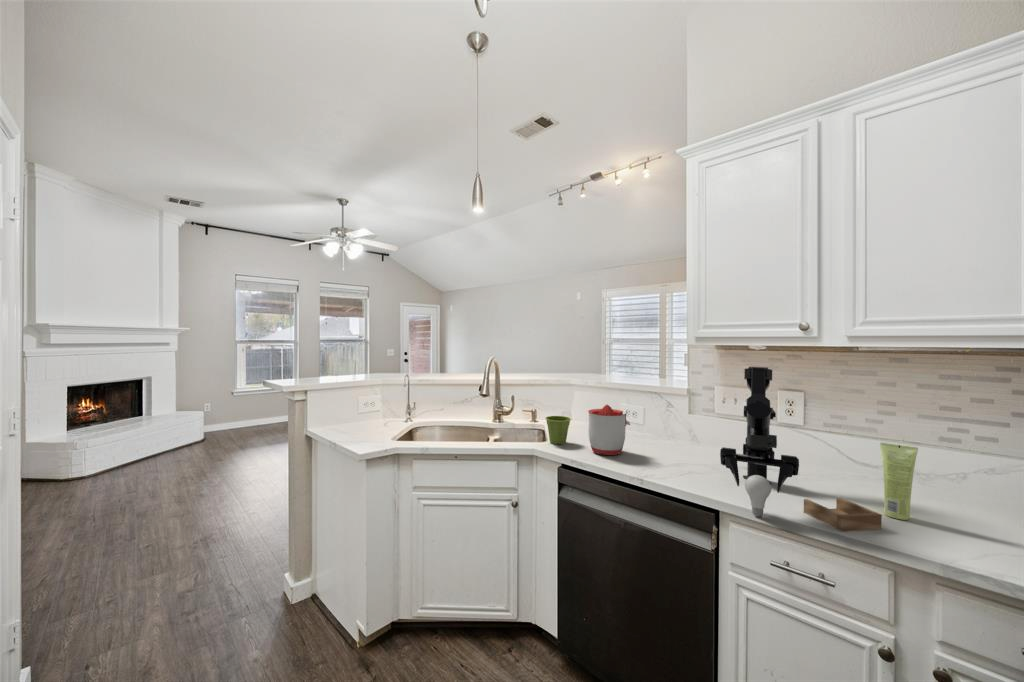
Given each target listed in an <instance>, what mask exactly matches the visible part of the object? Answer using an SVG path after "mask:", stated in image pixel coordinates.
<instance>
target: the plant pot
mask: <svg viewBox="0 0 1024 682" xmlns="http://www.w3.org/2000/svg"><path fill="white" fill-rule="evenodd" d="M544 419H545V420H546V425H547V432H548V438H549V443H550V444H552V445H565V444H566V443H567V437H568V433H569V432H568V431H569V426H570V423H571V420H572V418H571V417H570V416H564V415H550V416H545V417H544Z"/></svg>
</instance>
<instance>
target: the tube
mask: <svg viewBox="0 0 1024 682" xmlns="http://www.w3.org/2000/svg"><path fill="white" fill-rule="evenodd" d="M879 445H880V451H881V457H882V467H883V468H882V469H883V472H882V473H883V490H884V492H883V493H884V503H883V504H884V515H886V516H888V517H890V518H893V519H897V520H900V521H901V520H902V521H907V520H910V513H911V512H910V510H911V498H912V488H913V482H914V481H913V479H914V474H915V473H914V472H915V466H916V460H917V454H918V451H919V447H917V446H909V445H902V444H894V443H888V442H880V444H879Z"/></svg>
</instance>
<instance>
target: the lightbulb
mask: <svg viewBox="0 0 1024 682" xmlns="http://www.w3.org/2000/svg"><path fill="white" fill-rule="evenodd" d="M768 480H769V479H768V478H767V479H766V478H764V477H762V476H759V475H753V476H750V477H748V478H747V480H746V479H745V482H744V488H745V491H746V493H747V495H748V496H749V500H750V506H751V513H752V514H753V515H754V516H755V517H757V518H759V517H762V516H764V509H765V505H766V501H767V499H768V498H769V496H770V495H771V492H772V486H771V485H772V484H770V483H769V481H770V480H769V481H768Z"/></svg>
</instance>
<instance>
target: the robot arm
mask: <svg viewBox="0 0 1024 682" xmlns="http://www.w3.org/2000/svg"><path fill="white" fill-rule="evenodd" d="M744 380H746V386H747V388H748V389H749V391H750V396H749V397H747V399H746V405H743V418H746V437H745V443H743V444H742V454H741V453H737V449H736V448H732V447H724V446H723V447H722V448H720V453H719V455H720V465H722V466H725V468H726V469H729V470H730V472H731V473H732V475H733V478H734V480H735V482H736V486H737V487H740V474H739V467H738V462H742V463H746V464H747V468H746V469H747V473H746V474H747V475H743V476H742V478H744V479H745V481H746V480H747V478H748V477H750V476H753V475H759V476H762V477H764V478H766V479H767V480H768V481H769V483H770V485H772V481H770V480H769V479H768V466H769V467H777V468H779V471H778V478H777V485H776V492H777V493H778V494H780V492H781V489H782V487H783V485H784V484H785V482H786V480H787V478H793V476H798V474H799V471H800V469H799V468H800V459H799V458H798V457H797V456H796V455H789V454H787V455H786V454H781V455H780V459H777V458H775V451H774V449H778V448H777V446H778V439H777V438H778V437H777V436H778V435H776V434H770V426H771V420H774V418H776V417H777V415H776V413H777V412H776V411H775V410H774V407H771V400H770V399H769V398H768V397H767V395H766V392H767V390H768V389H769V388H770V383H771V382H770V381H773V369H770V368H769V367H765V366H748V368H744Z"/></svg>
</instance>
